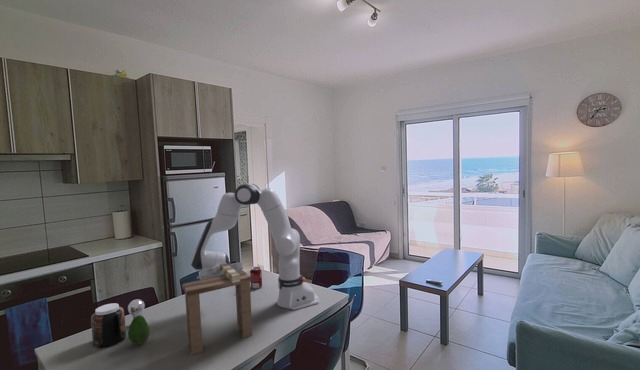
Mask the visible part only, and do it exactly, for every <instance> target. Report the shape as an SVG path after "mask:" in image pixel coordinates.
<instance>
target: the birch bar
mask: <svg viewBox="0 0 640 370" xmlns="http://www.w3.org/2000/svg"><path fill="white" fill-rule="evenodd" d="M219 265H220V271H221V272H222V273H223V274H224V275H225V276H226V277H227V278H228V279H229V280H230V281H231V282H232V283H235V282H239V281H240V274H239V273H237V272H236V271H235V270H234V269H233V268H232V267H231V266H229V265H228V264H227V263H226V262H225V263H220V264H219Z"/></svg>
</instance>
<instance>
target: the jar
mask: <svg viewBox="0 0 640 370" xmlns="http://www.w3.org/2000/svg"><path fill="white" fill-rule="evenodd" d="M94 311H95V312H94V313H93V314H92V315H91V317H90V323H91V325H90V327H91V337H92V346H93V348H95V349H106V348H111V347H114V346H115V345H118V344H120V343H122V342H123V341H124V340H125V339H126V338H127V332H126V329H127V328H126V318H125V317H126V315H125V310H124V308H123V307H121V306H120V305H119V303H115V302H114V303H112V302H111V303H107V304H103V305H101V306H99V307H97V308H95V310H94Z"/></svg>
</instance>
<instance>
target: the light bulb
mask: <svg viewBox="0 0 640 370" xmlns="http://www.w3.org/2000/svg"><path fill="white" fill-rule="evenodd" d="M145 307H146V305H145V302H144V301H143V300H142V299H138V298H137V299H133V300H132V301H130V302H129V303H128V305H127V311H128V313H129V314H130V316H131V318H132V320H133V319H134V318H135V317H136V316H138V315H141V316H142V315H143V312H144V310H145Z"/></svg>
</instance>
